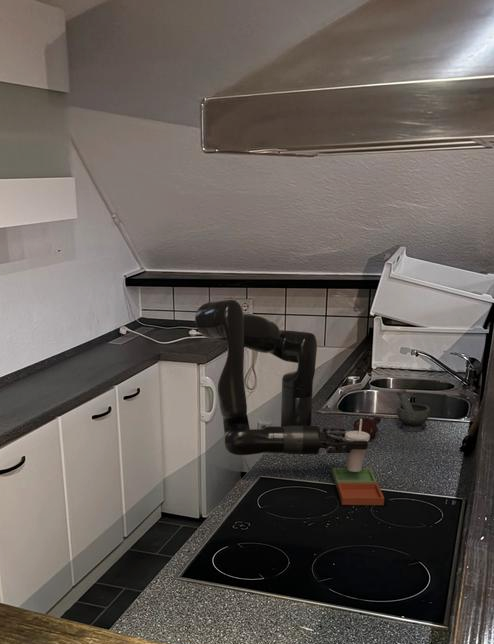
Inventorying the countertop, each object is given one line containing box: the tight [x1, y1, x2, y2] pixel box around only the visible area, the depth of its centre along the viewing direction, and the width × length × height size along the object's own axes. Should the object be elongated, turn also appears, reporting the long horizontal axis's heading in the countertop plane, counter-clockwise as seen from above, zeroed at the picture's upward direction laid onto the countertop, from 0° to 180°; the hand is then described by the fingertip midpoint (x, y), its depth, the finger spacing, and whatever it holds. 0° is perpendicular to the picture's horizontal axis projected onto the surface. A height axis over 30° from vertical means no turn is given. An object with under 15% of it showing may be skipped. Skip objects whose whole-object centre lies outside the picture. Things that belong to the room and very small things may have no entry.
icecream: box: [351, 416, 382, 439], centre depth 234 cm, size 7×7×15 cm
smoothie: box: [345, 418, 371, 472], centre depth 199 cm, size 6×6×14 cm
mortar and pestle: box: [396, 388, 431, 432], centre depth 242 cm, size 11×9×12 cm
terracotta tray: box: [336, 482, 385, 506], centre depth 192 cm, size 10×10×2 cm
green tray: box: [331, 467, 378, 489], centre depth 203 cm, size 10×10×2 cm
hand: (365, 440), depth 198 cm, fingers closed on smoothie, 6 cm apart
